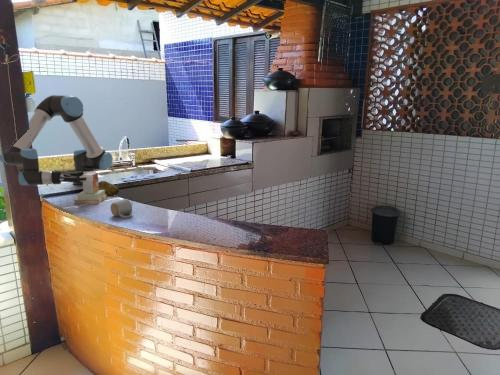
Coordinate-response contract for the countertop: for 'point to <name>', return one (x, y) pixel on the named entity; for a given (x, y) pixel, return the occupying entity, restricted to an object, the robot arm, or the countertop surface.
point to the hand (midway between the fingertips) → (94, 175)
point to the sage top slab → (91, 195)
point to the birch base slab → (90, 201)
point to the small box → (91, 184)
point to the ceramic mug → (122, 208)
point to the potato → (108, 188)
